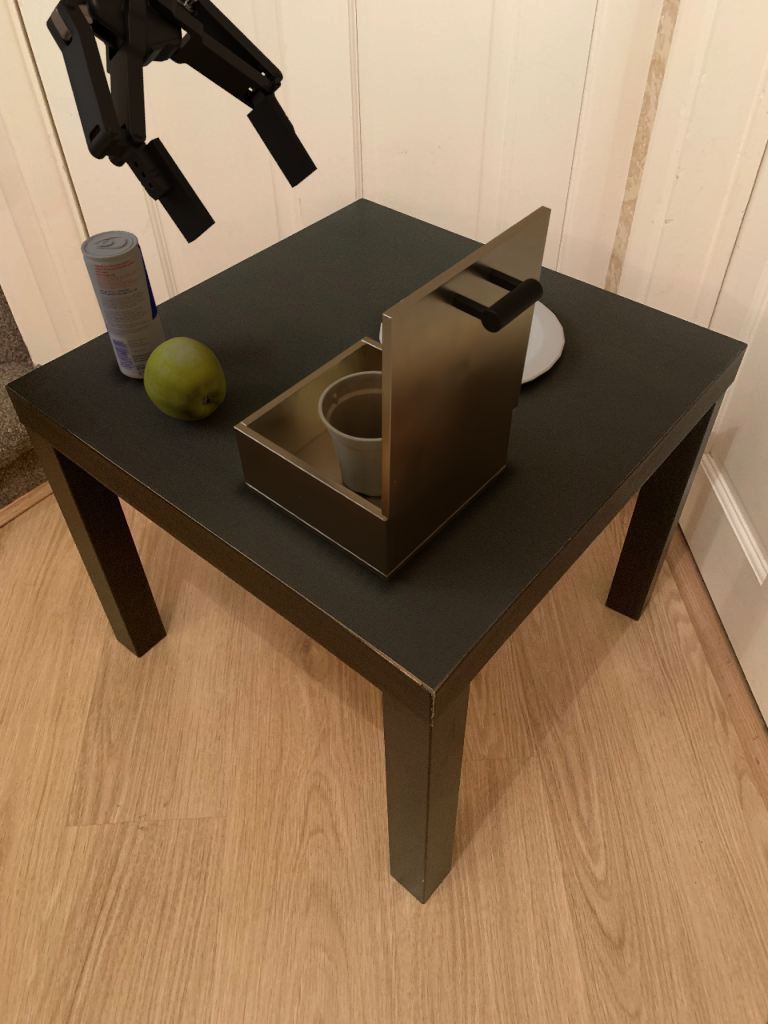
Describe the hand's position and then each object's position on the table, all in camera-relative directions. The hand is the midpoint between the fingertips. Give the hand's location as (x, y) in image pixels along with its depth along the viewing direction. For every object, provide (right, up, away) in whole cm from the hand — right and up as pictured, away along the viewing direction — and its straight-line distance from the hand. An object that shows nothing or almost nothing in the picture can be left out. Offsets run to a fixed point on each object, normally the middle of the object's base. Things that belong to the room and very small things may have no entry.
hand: (257, 204), depth 61 cm
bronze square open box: (+9, -21, +15) cm, 27 cm away
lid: (+15, -13, -2) cm, 20 cm away
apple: (-10, -13, +23) cm, 28 cm away
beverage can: (-17, -7, +28) cm, 34 cm away
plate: (+20, -5, +29) cm, 36 cm away
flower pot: (+9, -20, +14) cm, 26 cm away
